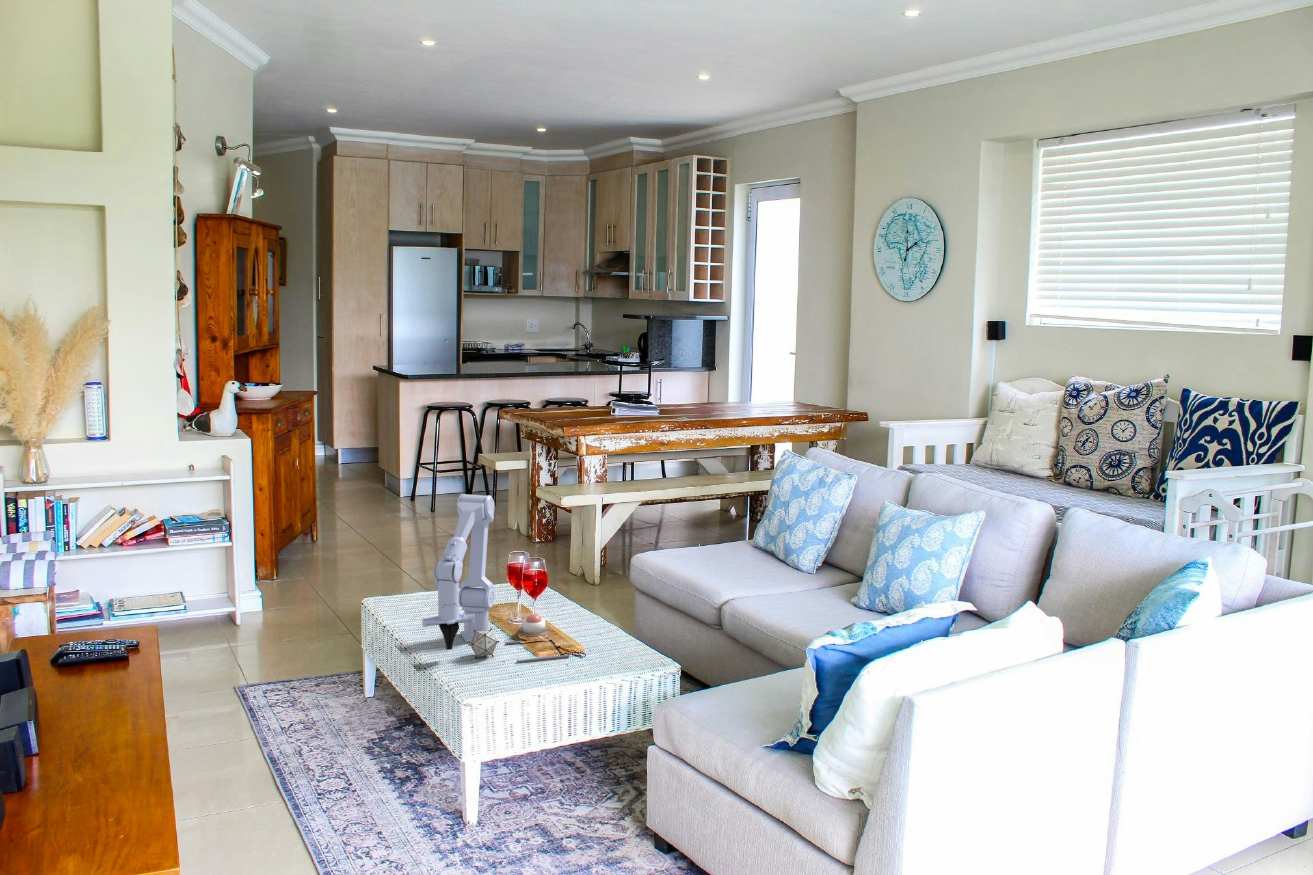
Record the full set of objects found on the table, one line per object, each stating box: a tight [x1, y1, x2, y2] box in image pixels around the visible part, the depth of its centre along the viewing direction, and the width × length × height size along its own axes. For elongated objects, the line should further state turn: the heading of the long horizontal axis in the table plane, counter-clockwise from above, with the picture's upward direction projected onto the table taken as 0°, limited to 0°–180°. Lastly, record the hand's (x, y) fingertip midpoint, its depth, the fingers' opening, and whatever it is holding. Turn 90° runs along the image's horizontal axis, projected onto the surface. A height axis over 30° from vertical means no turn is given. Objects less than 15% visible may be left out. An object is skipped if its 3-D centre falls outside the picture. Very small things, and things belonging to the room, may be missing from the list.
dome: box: [521, 613, 546, 634], centre depth 320 cm, size 7×7×5 cm
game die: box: [467, 627, 500, 660], centre depth 300 cm, size 9×8×10 cm
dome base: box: [516, 626, 551, 637], centre depth 320 cm, size 10×10×2 cm
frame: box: [504, 640, 570, 664], centre depth 306 cm, size 17×15×1 cm
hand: (449, 648), depth 297 cm, fingers closed
